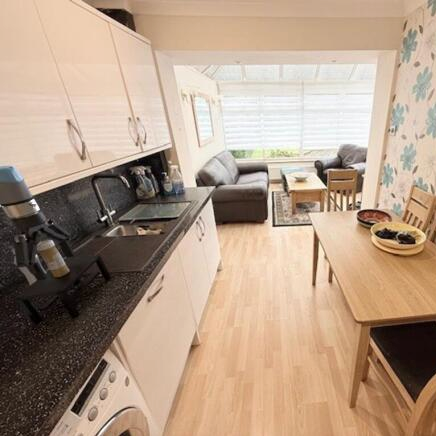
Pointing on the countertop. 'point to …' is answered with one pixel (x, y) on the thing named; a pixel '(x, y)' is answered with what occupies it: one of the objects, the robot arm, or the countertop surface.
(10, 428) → the countertop surface
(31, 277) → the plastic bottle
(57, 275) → the sprinkles bottle
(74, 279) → the stand
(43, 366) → the countertop surface
